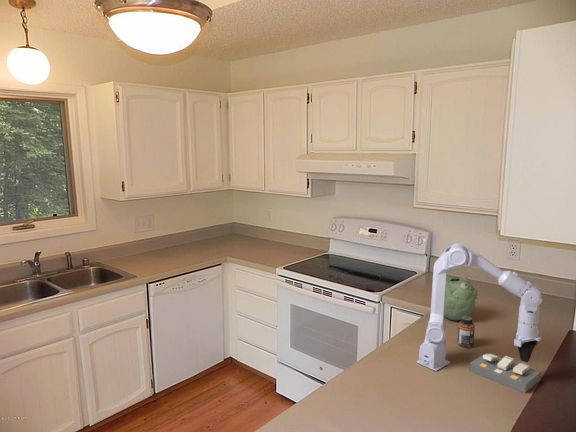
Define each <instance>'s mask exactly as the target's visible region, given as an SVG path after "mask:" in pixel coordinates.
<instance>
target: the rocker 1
mask: <svg viewBox="0 0 576 432" xmlns="http://www.w3.org/2000/svg"><path fill="white" fill-rule="evenodd" d="M482 355H483V354H482ZM498 357H499V356H498V355H496V354H493V353H489V354H486V355H483V359H486V360H489V361H495V358H497V360H498Z"/></svg>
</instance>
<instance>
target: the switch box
mask: <svg viewBox="0 0 576 432" xmlns="http://www.w3.org/2000/svg"><path fill="white" fill-rule="evenodd" d="M486 354H490V352H489V353H488V352H487V351H486V352H485V353H483V354H482V355H480V356H478V357H477V358H475V359H474V360H472V361H471V362H470V363H469V372H470V373H474V374H477V375H479V376H481V377H484V378H486V379H489V380H492V381H494V382H496V383H499V384H501V385H504V386H506V387H509V388H511V389H513V390H516V391H518V392H521V393H523V394H526V393H527V392H529V390H531V389H532V388H533V387H534V386H536V384H537V383H539V382H540V381H541V375H542V374H541V372H542V371H539V370H537V369H534V368H531V367H529V370H528V369H527V370H526V372H525V373H523V374H522V375H521V374H518V373H515V372H513V368H514V367H515V366H517V365H518V364H519V363H517V362H515V361H514V362H513V363H511V364H510V366H509V367H508V368H507V369H506V370H504V369H501V368H499V367H497V364H498V363H499V362H500V361H501V360H502V359H503V358H504V357H501V356H498V360H497V358H495V361H489V360H486V359H483V355H486Z"/></svg>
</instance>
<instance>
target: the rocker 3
mask: <svg viewBox="0 0 576 432" xmlns="http://www.w3.org/2000/svg"><path fill="white" fill-rule="evenodd" d="M517 364H518V365H517V366H515V367H514V368H513V372H515V373H518V374H521V375H522V374H523V373H525V372H526V370H527V369H528V370H529V368H530V367H531V366H530V365H529V364H526V363H525V362H519V363H517Z"/></svg>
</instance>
